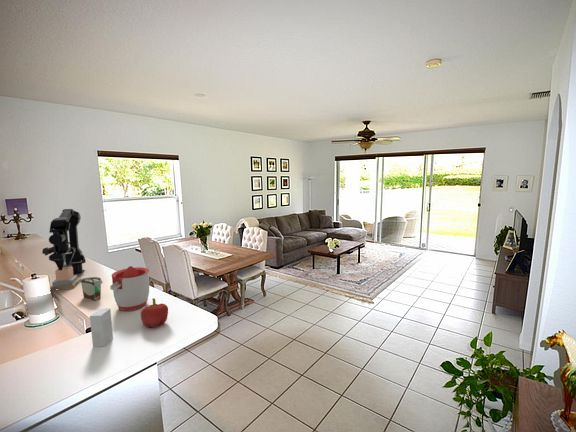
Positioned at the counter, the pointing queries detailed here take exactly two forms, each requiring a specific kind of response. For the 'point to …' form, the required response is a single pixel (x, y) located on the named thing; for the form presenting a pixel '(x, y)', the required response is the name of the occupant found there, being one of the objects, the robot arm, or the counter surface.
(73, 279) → the grey slab
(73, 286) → the walnut slab
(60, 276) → the terracotta block
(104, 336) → the skincare box
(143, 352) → the counter surface
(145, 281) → the citrus juicer
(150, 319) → the vegetable
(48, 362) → the counter surface
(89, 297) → the food container
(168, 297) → the counter surface
